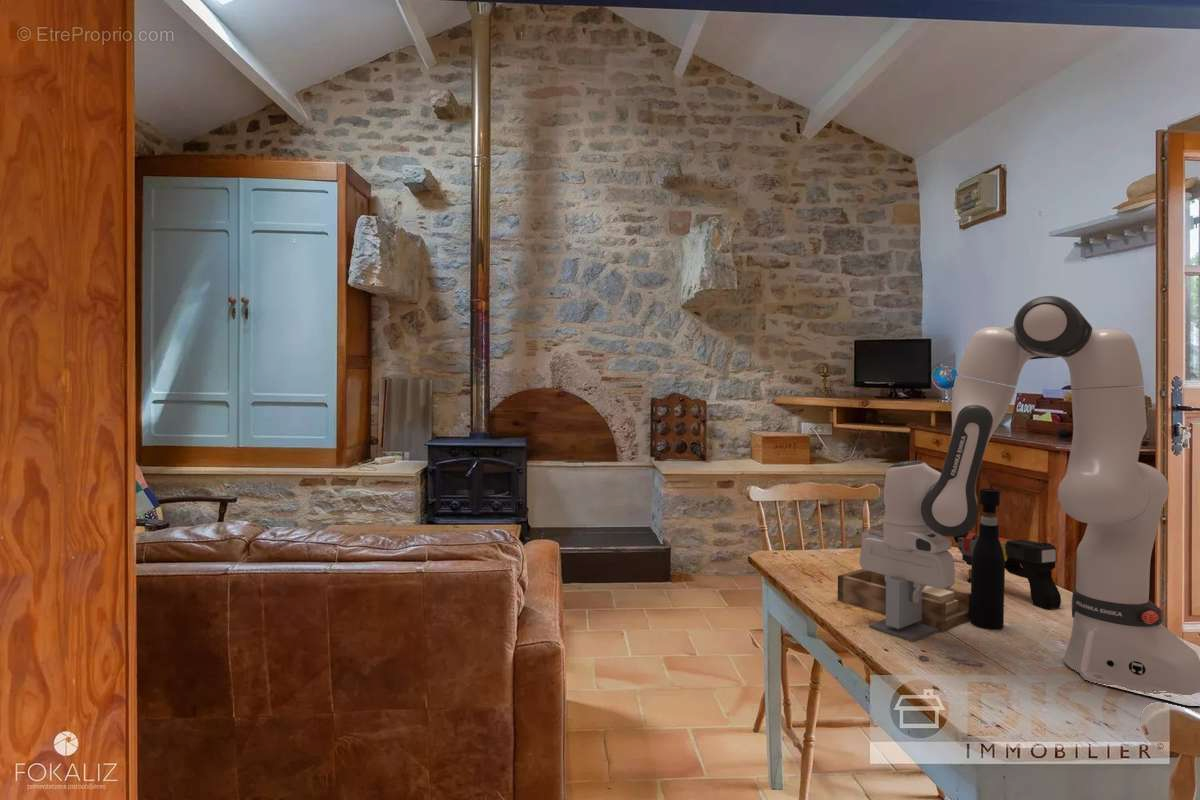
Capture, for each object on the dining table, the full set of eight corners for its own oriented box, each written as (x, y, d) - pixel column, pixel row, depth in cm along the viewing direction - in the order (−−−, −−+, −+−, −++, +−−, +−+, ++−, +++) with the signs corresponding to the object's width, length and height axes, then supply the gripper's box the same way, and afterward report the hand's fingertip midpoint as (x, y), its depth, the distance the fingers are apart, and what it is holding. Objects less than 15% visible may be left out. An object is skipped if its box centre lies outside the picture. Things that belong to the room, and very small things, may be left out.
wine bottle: (1007, 630, 151) (1011, 492, 150) (975, 628, 152) (978, 491, 151) (997, 620, 157) (1000, 487, 156) (966, 618, 158) (969, 486, 157)
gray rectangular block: (921, 620, 153) (922, 574, 152) (898, 628, 147) (899, 582, 147) (908, 616, 155) (909, 571, 155) (885, 624, 150) (886, 578, 149)
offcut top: (954, 600, 157) (954, 592, 157) (939, 605, 154) (939, 596, 154) (929, 593, 162) (929, 585, 162) (914, 598, 159) (914, 589, 159)
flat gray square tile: (938, 631, 150) (938, 628, 150) (912, 641, 144) (912, 638, 144) (894, 618, 158) (895, 615, 158) (869, 627, 152) (869, 624, 152)
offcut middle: (958, 611, 158) (958, 600, 157) (942, 617, 153) (942, 606, 153) (927, 603, 163) (928, 592, 163) (911, 609, 159) (912, 598, 159)
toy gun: (967, 581, 192) (966, 526, 192) (1064, 608, 165) (1062, 544, 166) (948, 583, 190) (947, 528, 190) (1044, 611, 163) (1042, 546, 164)
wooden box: (971, 619, 158) (972, 593, 157) (941, 631, 150) (942, 604, 150) (868, 590, 179) (869, 567, 178) (837, 599, 171) (837, 575, 171)
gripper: (854, 529, 157) (853, 589, 158) (943, 547, 141) (942, 615, 141) (870, 525, 161) (869, 584, 161) (959, 542, 144) (958, 608, 145)
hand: (904, 599), depth 151 cm, fingers closed on gray rectangular block, 3 cm apart
